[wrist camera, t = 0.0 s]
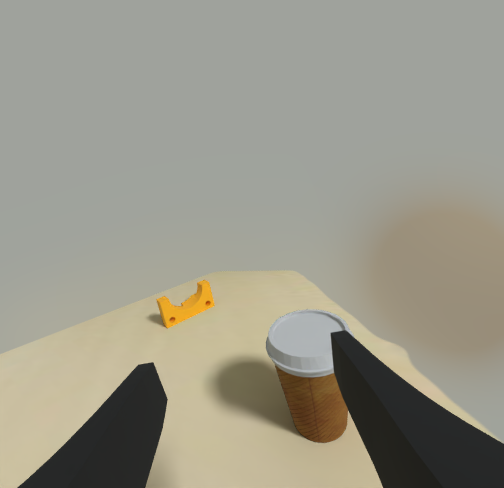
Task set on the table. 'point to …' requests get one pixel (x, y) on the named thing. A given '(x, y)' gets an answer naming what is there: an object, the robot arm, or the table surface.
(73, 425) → the table surface
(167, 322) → the pipe clamp
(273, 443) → the table surface
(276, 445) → the table surface
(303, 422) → the disposable coffee cup
